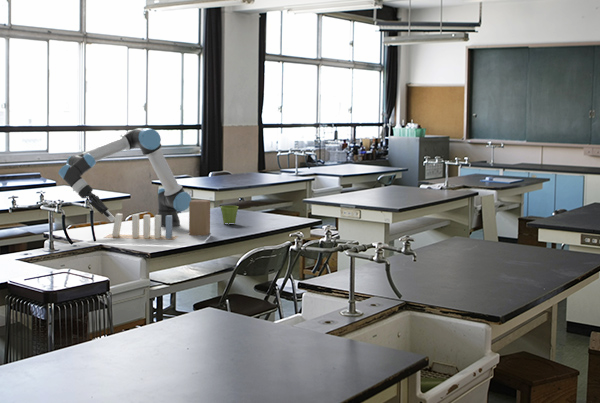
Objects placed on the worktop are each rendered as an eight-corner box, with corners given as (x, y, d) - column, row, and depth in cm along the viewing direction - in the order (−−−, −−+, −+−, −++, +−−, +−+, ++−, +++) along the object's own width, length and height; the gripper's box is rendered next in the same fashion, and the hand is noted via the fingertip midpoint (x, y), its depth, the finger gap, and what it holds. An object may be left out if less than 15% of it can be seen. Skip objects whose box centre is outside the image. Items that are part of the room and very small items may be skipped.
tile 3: (145, 236, 369) (145, 214, 368) (150, 236, 369) (150, 214, 368) (143, 237, 365) (143, 215, 363) (148, 237, 365) (148, 215, 363)
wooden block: (210, 234, 387) (210, 199, 385) (206, 237, 377) (206, 201, 375) (193, 233, 388) (193, 199, 386) (188, 236, 378) (188, 201, 376)
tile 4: (156, 236, 369) (156, 214, 368) (161, 236, 369) (161, 215, 368) (154, 238, 364) (154, 216, 363) (159, 238, 364) (159, 216, 363)
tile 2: (134, 236, 369) (134, 214, 368) (139, 236, 369) (139, 214, 368) (132, 237, 365) (132, 215, 363) (137, 237, 365) (137, 215, 363)
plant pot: (220, 222, 434) (221, 205, 433) (239, 223, 434) (239, 205, 433) (218, 225, 422) (218, 207, 421) (237, 226, 422) (237, 208, 421)
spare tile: (116, 237, 365) (120, 215, 363) (112, 236, 365) (115, 214, 363) (119, 235, 370) (122, 214, 368) (114, 234, 370) (118, 213, 368)
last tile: (167, 237, 369) (167, 215, 368) (172, 237, 369) (172, 215, 368) (165, 238, 364) (165, 216, 363) (170, 238, 364) (170, 216, 363)
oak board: (109, 235, 373) (109, 234, 373) (178, 238, 373) (178, 236, 373) (103, 239, 362) (103, 237, 361) (173, 241, 361) (173, 239, 361)
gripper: (82, 192, 371) (112, 223, 373) (73, 194, 358) (105, 227, 360) (91, 183, 371) (122, 214, 372) (83, 185, 358) (115, 217, 359)
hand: (113, 220), depth 366 cm, fingers closed
